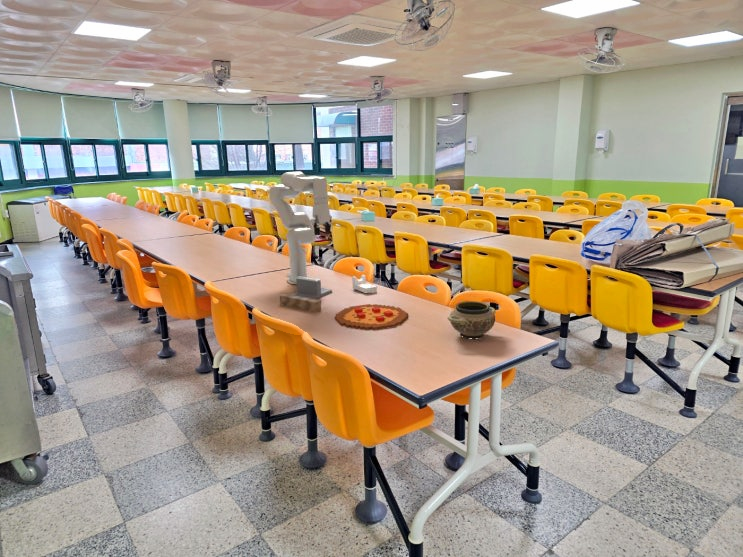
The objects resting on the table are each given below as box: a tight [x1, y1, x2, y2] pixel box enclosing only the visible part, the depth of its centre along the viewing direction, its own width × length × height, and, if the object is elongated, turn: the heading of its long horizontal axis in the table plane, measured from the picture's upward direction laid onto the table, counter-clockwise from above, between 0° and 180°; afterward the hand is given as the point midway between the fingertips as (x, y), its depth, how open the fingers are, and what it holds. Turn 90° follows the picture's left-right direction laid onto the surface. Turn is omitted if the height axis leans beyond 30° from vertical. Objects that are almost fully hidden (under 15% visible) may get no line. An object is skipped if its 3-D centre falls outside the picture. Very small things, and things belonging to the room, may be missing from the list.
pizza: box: [334, 303, 409, 331], centre depth 221 cm, size 32×32×3 cm
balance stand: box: [289, 276, 333, 300], centre depth 257 cm, size 14×22×10 cm, turn 148°
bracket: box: [351, 274, 378, 294], centre depth 264 cm, size 13×7×8 cm, turn 35°
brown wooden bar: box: [279, 293, 322, 313], centre depth 238 cm, size 24×4×5 cm, turn 56°
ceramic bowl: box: [447, 300, 496, 340], centre depth 195 cm, size 24×18×15 cm
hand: (322, 233), depth 257 cm, fingers open, 9 cm apart
